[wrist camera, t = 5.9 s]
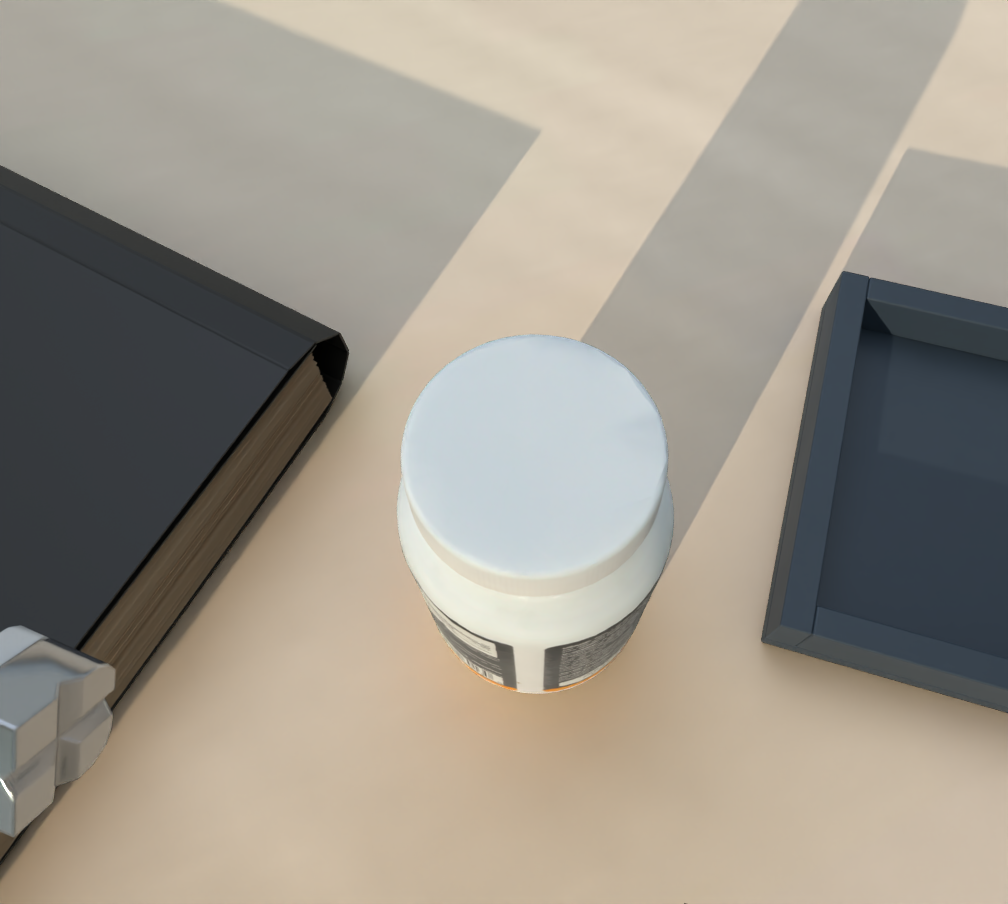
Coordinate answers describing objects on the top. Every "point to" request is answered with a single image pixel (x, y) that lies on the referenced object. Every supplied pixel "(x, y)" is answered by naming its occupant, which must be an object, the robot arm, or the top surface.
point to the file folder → (134, 424)
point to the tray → (901, 494)
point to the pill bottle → (535, 508)
